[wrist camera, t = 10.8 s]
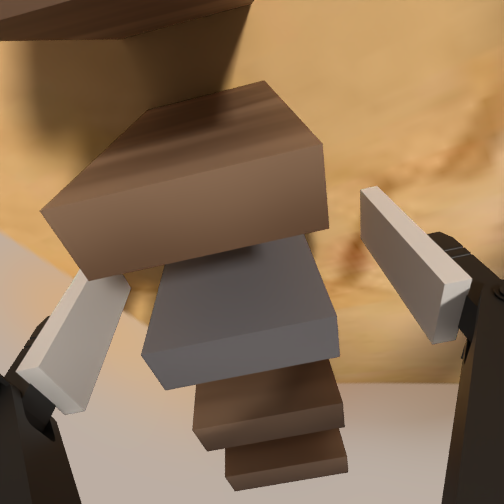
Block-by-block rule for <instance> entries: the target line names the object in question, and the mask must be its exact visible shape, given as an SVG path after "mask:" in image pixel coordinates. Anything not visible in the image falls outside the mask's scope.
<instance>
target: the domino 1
mask: <svg viewBox="0 0 504 504" xmlns="http://www.w3.org/2000/svg"><path fill="white" fill-rule="evenodd" d="M253 1H254V0H0V41H28V40H95V39H123V38H127V37H130V36H134V35H138V34H141V33H145V32H149V31H152V30H156V29H160V28H164V27H167V26H171V25H175V24H178V23H182V22H186V21H189V20H193V19H197V18H201V17H204V16H208V15H212V14H215V13H219V12H223V11H226V10H230V9H234V8H238V7H241V6H245V5H249V4H252V2H253Z"/></svg>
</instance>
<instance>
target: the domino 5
mask: <svg viewBox="0 0 504 504" xmlns="http://www.w3.org/2000/svg"><path fill="white" fill-rule="evenodd" d="M347 472H348V463H347V455H346V451H345V448H344V445H343V441H342V437H341V434H340V431H339V428H336V429H331V430H325V431H319V432H314V433H308V434H303V435H297V436H291V437H286V438H280V439H274V440H269V441H263V442H258V443H252V444H246V445H241V446H235V447H229V448H225V477H226V479H227V480H228V482H229V483H230V485H231V486H232V488H233V489H234V491H240V490H245V489H252V488H258V487H263V486H270V485H276V484H281V483H287V482H293V481H299V480H305V479H311V478H317V477H322V476H329V475H335V474H341V473H347Z"/></svg>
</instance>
